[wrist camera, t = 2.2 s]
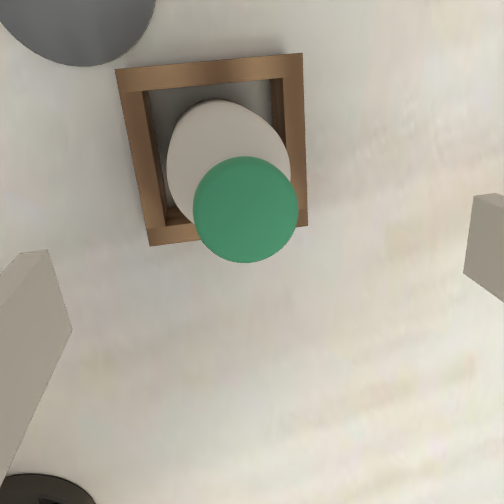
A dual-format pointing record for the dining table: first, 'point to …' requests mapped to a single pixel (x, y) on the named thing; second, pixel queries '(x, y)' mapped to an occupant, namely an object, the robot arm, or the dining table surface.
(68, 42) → the slate coaster
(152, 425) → the dining table surface
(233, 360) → the dining table surface
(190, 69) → the walnut pocket
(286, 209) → the milk bottle
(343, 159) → the dining table surface
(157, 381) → the dining table surface
